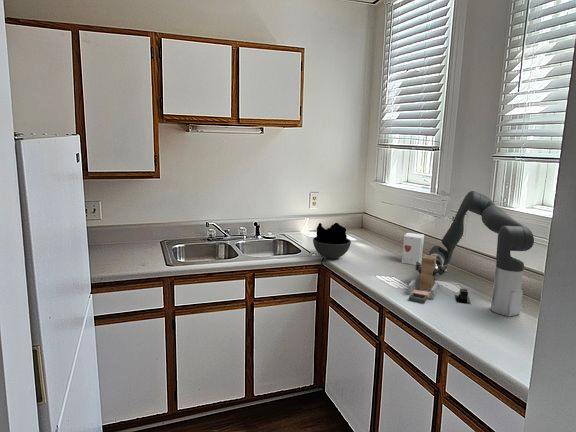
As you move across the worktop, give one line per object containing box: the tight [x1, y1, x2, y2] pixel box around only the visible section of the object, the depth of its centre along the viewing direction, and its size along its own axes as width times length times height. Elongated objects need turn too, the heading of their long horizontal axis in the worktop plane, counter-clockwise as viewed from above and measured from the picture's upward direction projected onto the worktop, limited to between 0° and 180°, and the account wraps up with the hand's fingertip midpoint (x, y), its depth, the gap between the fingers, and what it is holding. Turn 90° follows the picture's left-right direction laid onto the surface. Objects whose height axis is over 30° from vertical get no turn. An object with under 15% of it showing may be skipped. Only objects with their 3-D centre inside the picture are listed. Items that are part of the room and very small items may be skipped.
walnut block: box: [419, 254, 436, 292], centre depth 184 cm, size 5×5×14 cm
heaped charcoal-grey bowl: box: [312, 222, 352, 260], centre depth 224 cm, size 20×20×19 cm
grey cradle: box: [406, 279, 439, 301], centre depth 177 cm, size 9×10×4 cm
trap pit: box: [408, 293, 428, 305], centre depth 171 cm, size 6×6×2 cm
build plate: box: [454, 288, 472, 305], centre depth 173 cm, size 12×7×5 cm, turn 163°
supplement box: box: [401, 232, 425, 266], centre depth 222 cm, size 9×9×15 cm
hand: (426, 272), depth 181 cm, fingers closed on walnut block, 5 cm apart
